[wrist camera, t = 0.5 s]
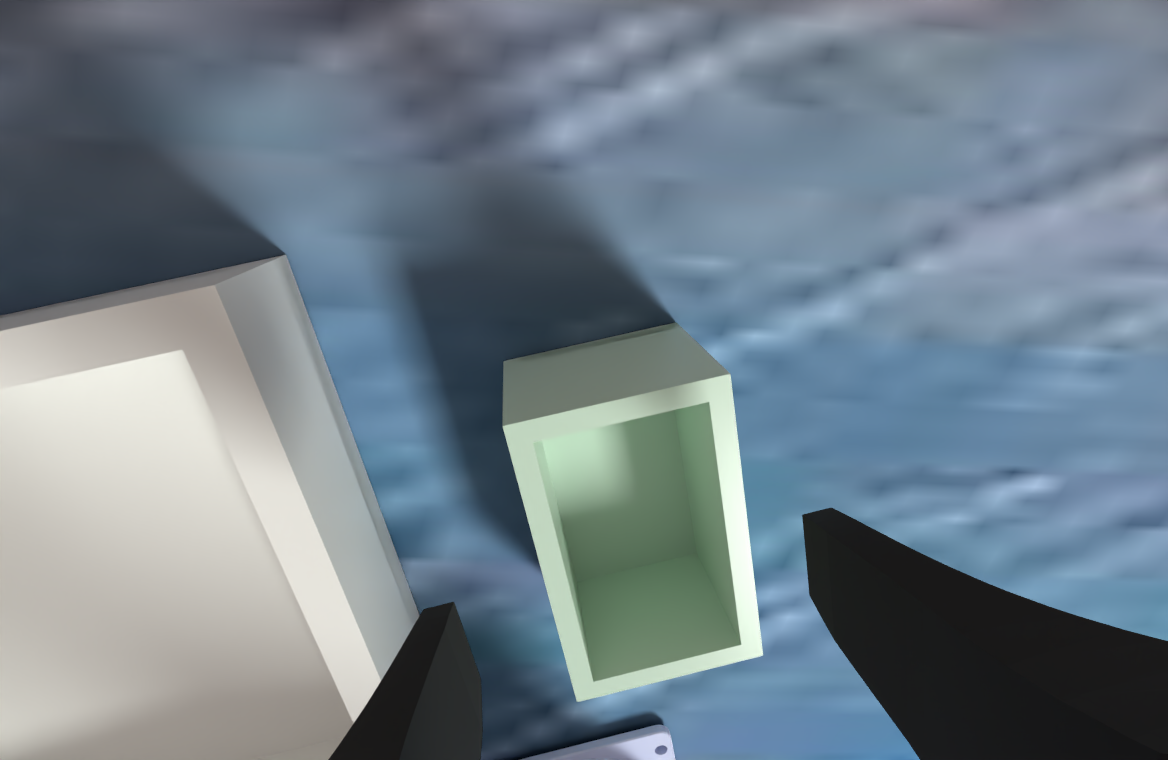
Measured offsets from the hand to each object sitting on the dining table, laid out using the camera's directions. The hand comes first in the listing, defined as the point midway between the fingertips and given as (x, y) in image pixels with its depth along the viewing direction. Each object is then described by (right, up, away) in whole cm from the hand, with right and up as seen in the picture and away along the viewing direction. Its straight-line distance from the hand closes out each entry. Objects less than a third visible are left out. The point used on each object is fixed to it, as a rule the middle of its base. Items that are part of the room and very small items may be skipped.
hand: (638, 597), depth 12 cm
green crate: (0, +1, +9) cm, 9 cm away
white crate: (-16, -2, +8) cm, 18 cm away
